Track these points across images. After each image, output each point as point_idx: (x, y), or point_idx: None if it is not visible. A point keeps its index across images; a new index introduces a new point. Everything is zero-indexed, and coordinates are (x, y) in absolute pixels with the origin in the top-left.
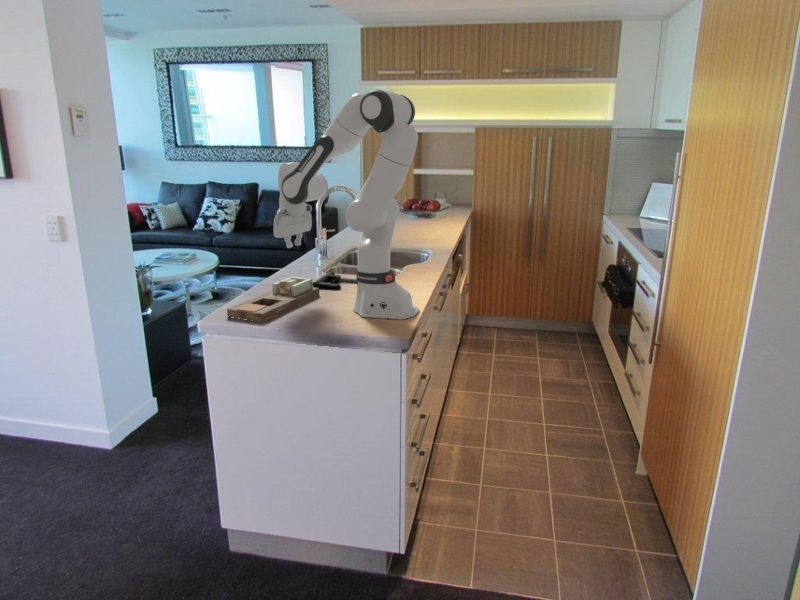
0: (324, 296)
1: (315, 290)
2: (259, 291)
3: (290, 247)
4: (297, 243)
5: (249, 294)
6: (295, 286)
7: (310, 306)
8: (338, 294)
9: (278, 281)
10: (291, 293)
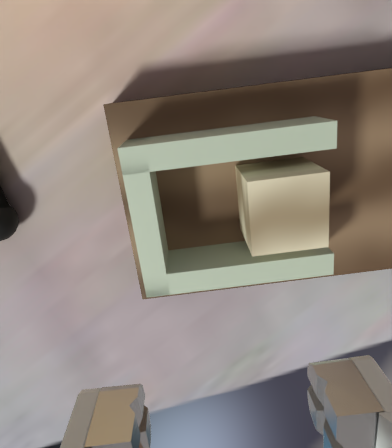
0: (107, 67)
1: (147, 99)
2: (202, 371)
3: (371, 358)
4: (138, 422)
5: (257, 372)
6: (328, 121)
7: (309, 6)
8: (24, 16)
9: (275, 279)
10: (293, 158)
